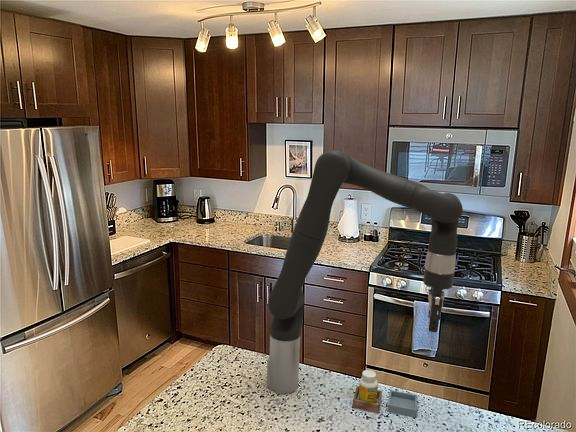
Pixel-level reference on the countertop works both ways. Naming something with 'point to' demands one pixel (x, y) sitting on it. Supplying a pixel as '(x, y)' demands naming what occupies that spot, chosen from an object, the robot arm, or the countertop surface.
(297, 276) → the robot arm
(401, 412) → the tray
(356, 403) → the wooden square frame
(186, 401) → the countertop surface
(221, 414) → the countertop surface
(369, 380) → the supplement bottle
